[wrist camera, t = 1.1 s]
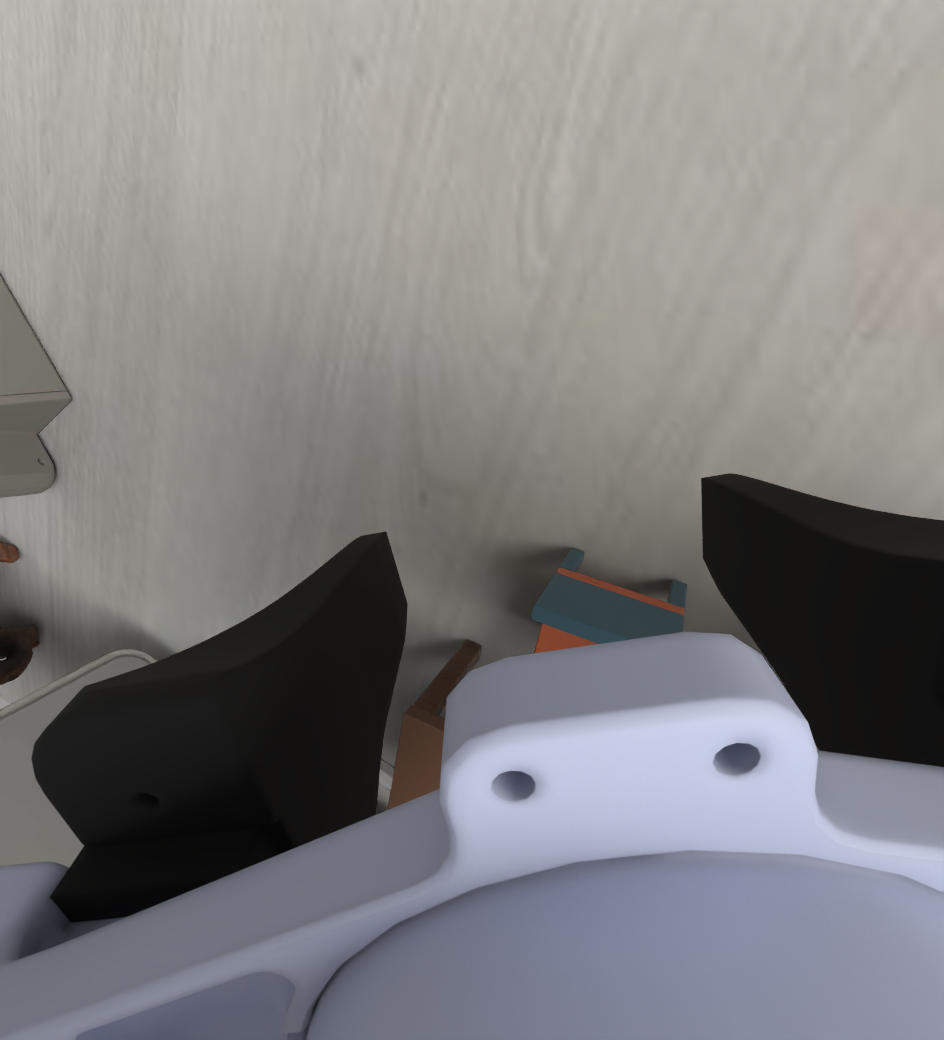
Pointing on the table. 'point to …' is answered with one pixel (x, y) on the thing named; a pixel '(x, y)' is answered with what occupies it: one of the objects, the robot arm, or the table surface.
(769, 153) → the table surface
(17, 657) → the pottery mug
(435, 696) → the desk
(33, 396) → the digital clock
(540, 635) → the chair
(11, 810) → the network device
